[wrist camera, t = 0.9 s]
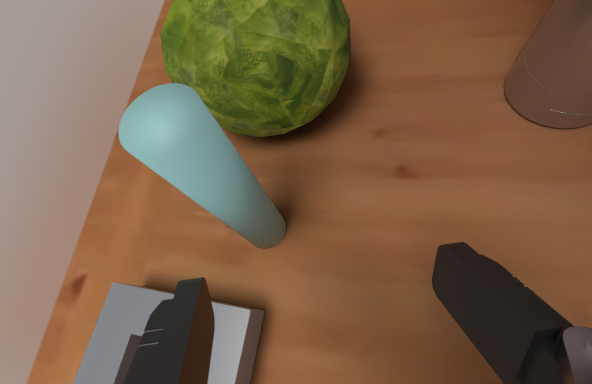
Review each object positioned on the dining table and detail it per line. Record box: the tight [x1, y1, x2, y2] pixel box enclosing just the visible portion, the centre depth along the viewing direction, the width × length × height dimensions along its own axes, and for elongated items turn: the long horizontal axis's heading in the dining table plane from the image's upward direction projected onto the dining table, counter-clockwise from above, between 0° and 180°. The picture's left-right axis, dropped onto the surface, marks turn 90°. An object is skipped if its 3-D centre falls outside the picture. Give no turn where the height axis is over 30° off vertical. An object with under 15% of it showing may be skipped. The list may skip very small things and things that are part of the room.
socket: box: [73, 282, 265, 384], centre depth 24 cm, size 13×13×4 cm
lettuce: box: [161, 0, 351, 137], centre depth 31 cm, size 17×23×16 cm
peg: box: [119, 83, 286, 249], centre depth 21 cm, size 4×4×18 cm
